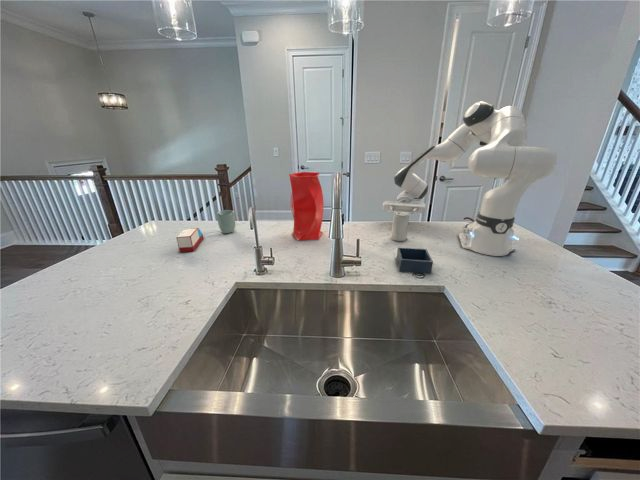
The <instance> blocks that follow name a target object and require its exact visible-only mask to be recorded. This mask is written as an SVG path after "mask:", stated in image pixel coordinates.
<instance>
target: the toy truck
mask: <svg viewBox="0 0 640 480" xmlns="http://www.w3.org/2000/svg"><path fill="white" fill-rule="evenodd" d="M203 239H204V234H203V232H202V231H201V230H200V228H199V227H193V228H192V227H191V228H186V229H183V230H182V231H181V232H180V233H179V234H178V235H177V236H176V243H177V247H178V250H179V253H188V252H189V253H190V252H194V251H195V250H196V248H197V247H198V246H199V244H200V243H201V242H202V241H203Z"/></svg>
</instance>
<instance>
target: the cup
mask: <svg viewBox="0 0 640 480" xmlns="http://www.w3.org/2000/svg"><path fill="white" fill-rule="evenodd" d="M216 218H217V224H218V228H219V230H220V232H221V233H223V234H231V233H233V232H234V231H235V230H236V227H237V226H236V225H237V224H236V216H235V211H234V210H233V209H223V210H219V211H217V212H216Z"/></svg>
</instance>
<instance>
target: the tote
mask: <svg viewBox="0 0 640 480" xmlns="http://www.w3.org/2000/svg"><path fill="white" fill-rule="evenodd" d="M396 262H397V267H398V270H399V272H400V273H409V274H410V273H411V274H412V273H413V274H424V275H425V274H427V275H431V274H432V271H433V265H434V261H433V259H432V257H431V255H430V253H429V251H428V249H427V248H414V247H413V248H412V247H397V251H396Z"/></svg>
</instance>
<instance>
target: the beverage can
mask: <svg viewBox="0 0 640 480" xmlns="http://www.w3.org/2000/svg"><path fill="white" fill-rule="evenodd" d="M409 215H410V214H409V212H407V213H406V212H396V211H394V215H393V218H392V228H391V229H392V230H391V239H392V240H394V241H396V242H405V240H407V237H408V228H409V222H410V216H409Z"/></svg>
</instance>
